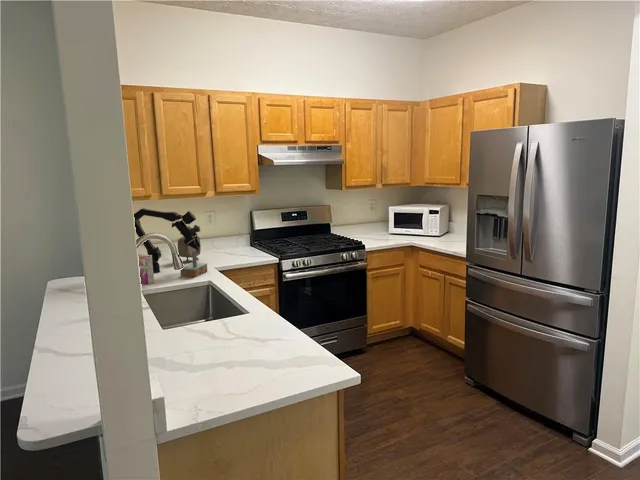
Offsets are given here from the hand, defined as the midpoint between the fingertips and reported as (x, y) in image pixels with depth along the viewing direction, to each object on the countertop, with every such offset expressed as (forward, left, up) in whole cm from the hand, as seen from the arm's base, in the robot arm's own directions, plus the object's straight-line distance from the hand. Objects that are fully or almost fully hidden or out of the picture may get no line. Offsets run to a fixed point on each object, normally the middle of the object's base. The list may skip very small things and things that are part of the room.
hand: (199, 248), depth 276 cm
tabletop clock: (+9, +31, -15) cm, 36 cm away
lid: (-8, -7, -10) cm, 15 cm away
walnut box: (-8, -7, -14) cm, 18 cm away
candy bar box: (-38, -4, -15) cm, 41 cm away
